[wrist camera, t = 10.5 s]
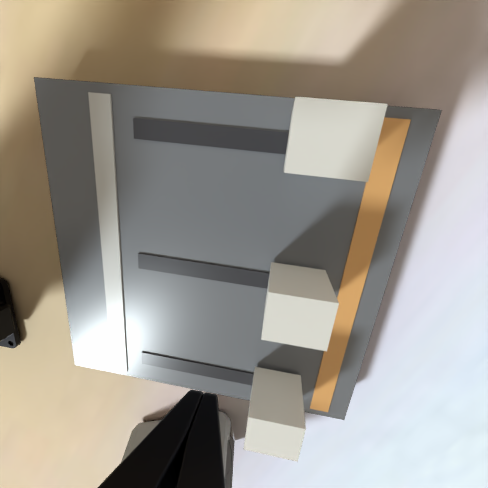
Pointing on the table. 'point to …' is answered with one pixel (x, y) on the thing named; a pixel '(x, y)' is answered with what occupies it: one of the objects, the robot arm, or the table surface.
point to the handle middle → (299, 307)
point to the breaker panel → (215, 233)
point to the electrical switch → (226, 440)
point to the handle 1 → (275, 414)
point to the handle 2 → (333, 138)
